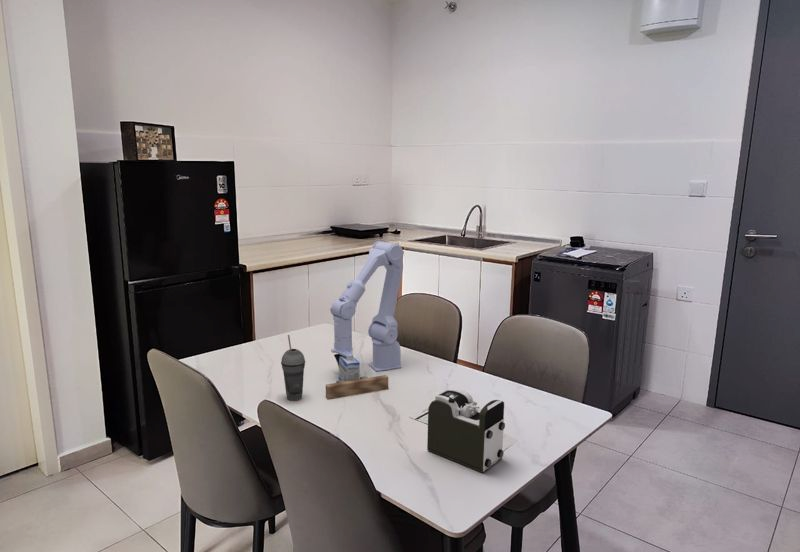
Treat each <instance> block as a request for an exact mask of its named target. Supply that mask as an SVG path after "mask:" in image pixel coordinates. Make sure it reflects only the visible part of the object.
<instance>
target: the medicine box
mask: <svg viewBox="0 0 800 552" xmlns="http://www.w3.org/2000/svg"><path fill="white" fill-rule="evenodd" d="M360 365H361V364H360V362H359V361H358V360H357V358H355V357H354V356H353V360H348V361H347V358H346V357H345V356H339V367H338V381H339V380H343V381H344V382H345V381H351V380H358V379H360V377H361V376H360V374H361V373H360V370H361V368H360V367H361V366H360Z"/></svg>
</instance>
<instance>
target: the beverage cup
mask: <svg viewBox="0 0 800 552" xmlns="http://www.w3.org/2000/svg"><path fill="white" fill-rule="evenodd" d="M287 340H288V345H289V346H288V347H289V349H288V350H286V351H285V352H284V353H283V355H282V356H281V361H280V365H281V369H282V373H283V377H284V378H283V379H284V386H285V393H286V399H287V401H289V402H297V401H300V400H302V399H303V392H304V391H303V390H304V389H303V388H304V375H305V373H304V372H305V367H306V366H305V365H306V359H305V356H304V354H303V353H304V352H302V351H301V350H299V349H297V348H292V344H291V338H290V334H288V335H287Z"/></svg>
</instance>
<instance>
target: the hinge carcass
mask: <svg viewBox="0 0 800 552" xmlns="http://www.w3.org/2000/svg"><path fill="white" fill-rule="evenodd" d="M384 390H385V391H386V390H389V376H388V375H387V374H383V375H377V376H373V377H372V376H370V377H368V376H366V375H365V376H360V379H358V380H351V381H345V382H344V381H343V380H339V379H338V380H336V381H335V382H334V383H329V384H325V398H326V399H327V400H331V399H337V398H343V397H349V396H350V397H351V396H354V395H361V394H366V393H367V394H368V393H373V392H379V391H384Z"/></svg>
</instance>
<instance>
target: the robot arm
mask: <svg viewBox="0 0 800 552" xmlns="http://www.w3.org/2000/svg"><path fill="white" fill-rule="evenodd" d="M404 254H405V251H404V250H403V248H402V247H401V245H400V244H398V243H393V242H386V241H382V240H378V241H375V242H374V243H373V245H372V247H371V248H370V249H369V252H368V257H367V259H366V261H365V263H364V264H363V266H362V268H361V269H360V272H359V274H358V275H357V277H356V279H353V280H350V282H347V284H346V288H345V289H344V291H343V292H342V294H341V295H340V296H339V298H337V300H335V301H334V302H333V303H332V304H331V307H330V308H329V311H330V313H331V315H332V317H333V318H332V320H333V326H334V327H333V329H334V331H333V333H334V335H333V336H334V338H333V339H334V342H333V348H332V349H330V352H331V353H332V354H333V356H334V358H335V360H336V363H337V366H338V368H339V356H345V357H346V358H347V361H348V360H353V357H354V354H353V351H354V350H353V337H352V336H353V334H352V333H353V329H352V328H353V327H352V326H353V322H352V320H353V319H352V318H353V317H354V316H355V314H356V311H357V310H356V309H357V304H358V302H359V301H360V300H361V298H362V296H363V295H364V294H365V292H366V286H365V285H366V284H367V282H368V281H369V280H370V279H371V277H372V276H373V275H374V273H375V272H376V271H377V269H378V268H379V267H384V268H385V270H386V272H385V277H384V281H383V288H382V292H381V298H380V302H379V307H378V312H377V314H376V315H374V316H373V318H372V320H371V323H370V325H369V326H368V333H367V334H368V335H369V337H370V338H371V342H372V362H369V363H368V365H369V366H370V367H371V368H373V370H375V371H376V372H380V371H389V370H394V369H401V368H402V365H401V363H402V361H401V357H402V355H401V351H402V350H401V344H400V342H399V341H398V340H397V339H398V336H399V335H398V333H399V332H398V325H399V324H398V322H397V320H396V318H395V317H394V316H395V311H396V306H397V302H398V296H399V291H400V286H401V281H402V276H403V270H404V263H403V262H404V260H403V259H404Z"/></svg>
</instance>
